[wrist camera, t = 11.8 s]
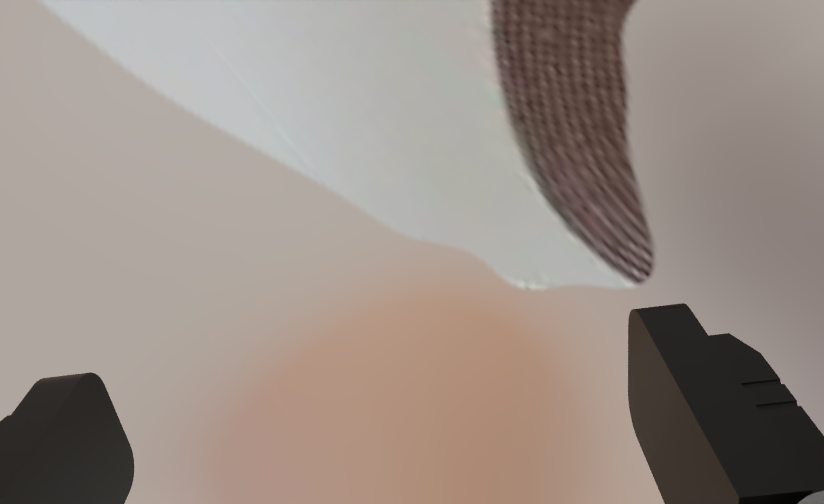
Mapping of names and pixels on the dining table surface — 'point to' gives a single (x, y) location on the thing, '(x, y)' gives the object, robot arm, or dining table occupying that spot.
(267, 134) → the dining table surface
